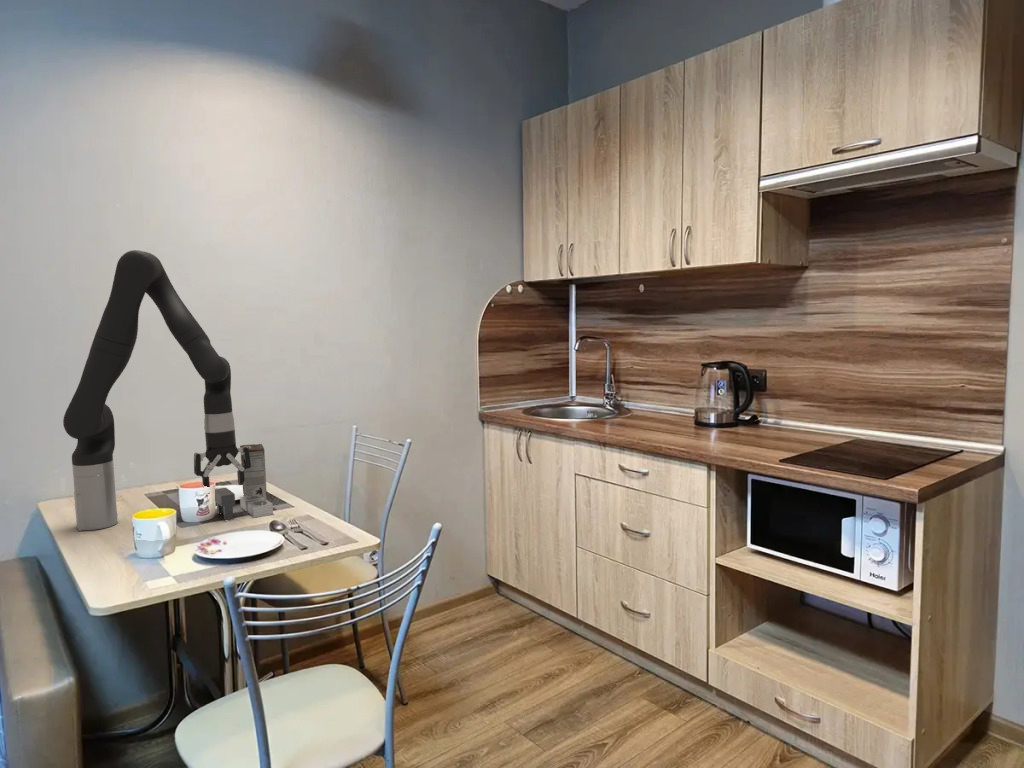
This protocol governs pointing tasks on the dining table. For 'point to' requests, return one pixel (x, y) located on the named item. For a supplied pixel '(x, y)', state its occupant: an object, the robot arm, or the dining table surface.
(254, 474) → the coffee box
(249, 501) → the grey stone base block
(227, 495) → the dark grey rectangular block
